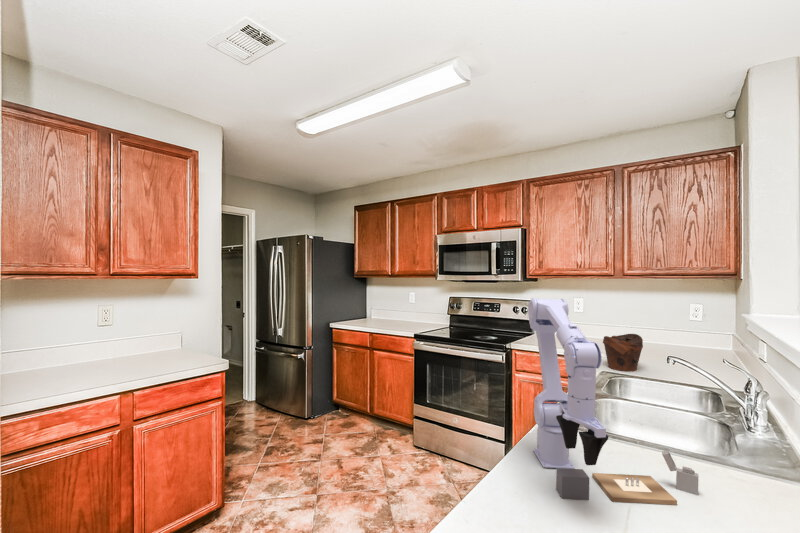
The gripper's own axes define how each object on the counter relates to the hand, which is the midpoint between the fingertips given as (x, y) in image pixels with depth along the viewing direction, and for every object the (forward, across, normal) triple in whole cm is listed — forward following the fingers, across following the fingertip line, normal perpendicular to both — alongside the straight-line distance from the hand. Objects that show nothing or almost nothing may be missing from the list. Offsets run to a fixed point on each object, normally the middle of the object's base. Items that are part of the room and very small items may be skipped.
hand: (580, 455), depth 87 cm
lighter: (+10, -2, +27) cm, 28 cm away
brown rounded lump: (+9, -103, +89) cm, 136 cm away
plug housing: (+10, -2, -1) cm, 10 cm away
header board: (+10, -2, +15) cm, 18 cm away
